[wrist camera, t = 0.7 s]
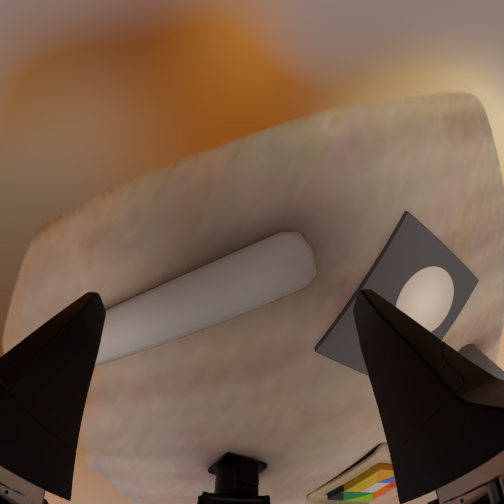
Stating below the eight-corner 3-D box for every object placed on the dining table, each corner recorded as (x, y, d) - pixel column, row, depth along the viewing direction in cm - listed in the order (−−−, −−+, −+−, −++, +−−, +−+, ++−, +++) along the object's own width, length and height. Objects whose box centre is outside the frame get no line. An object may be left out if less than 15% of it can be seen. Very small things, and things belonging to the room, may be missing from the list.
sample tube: (458, 379, 28) (505, 433, 16) (442, 370, 28) (493, 431, 15) (481, 349, 27) (533, 397, 15) (466, 337, 27) (526, 390, 14)
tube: (301, 213, 20) (55, 325, 22) (331, 282, 19) (75, 376, 21) (298, 225, 25) (87, 319, 27) (322, 280, 24) (104, 363, 26)
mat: (400, 386, 28) (402, 390, 27) (314, 348, 26) (315, 352, 26) (475, 278, 25) (479, 280, 24) (405, 211, 23) (408, 212, 23)
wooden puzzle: (302, 495, 35) (305, 509, 31) (378, 439, 31) (385, 455, 28) (366, 499, 37) (369, 510, 33) (434, 447, 33) (441, 459, 30)
